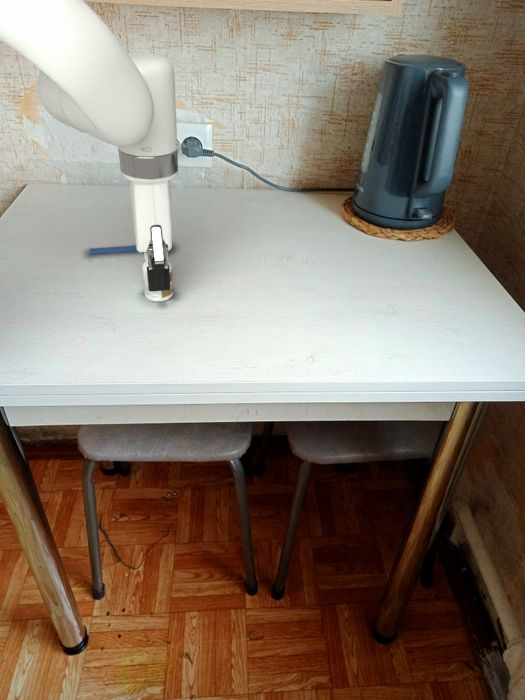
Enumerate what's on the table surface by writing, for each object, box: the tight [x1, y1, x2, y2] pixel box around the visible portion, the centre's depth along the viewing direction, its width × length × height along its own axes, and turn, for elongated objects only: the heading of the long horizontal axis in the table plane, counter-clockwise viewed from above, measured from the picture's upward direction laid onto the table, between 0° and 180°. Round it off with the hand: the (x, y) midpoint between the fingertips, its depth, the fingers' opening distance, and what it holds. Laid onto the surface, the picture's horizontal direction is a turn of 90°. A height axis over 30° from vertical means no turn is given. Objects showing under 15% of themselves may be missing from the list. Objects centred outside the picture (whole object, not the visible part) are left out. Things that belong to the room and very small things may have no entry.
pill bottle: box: [141, 246, 174, 302], centre depth 78 cm, size 4×4×8 cm
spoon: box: [89, 245, 172, 256], centre depth 91 cm, size 14×4×1 cm, turn 105°
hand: (157, 279), depth 78 cm, fingers closed on pill bottle, 4 cm apart
